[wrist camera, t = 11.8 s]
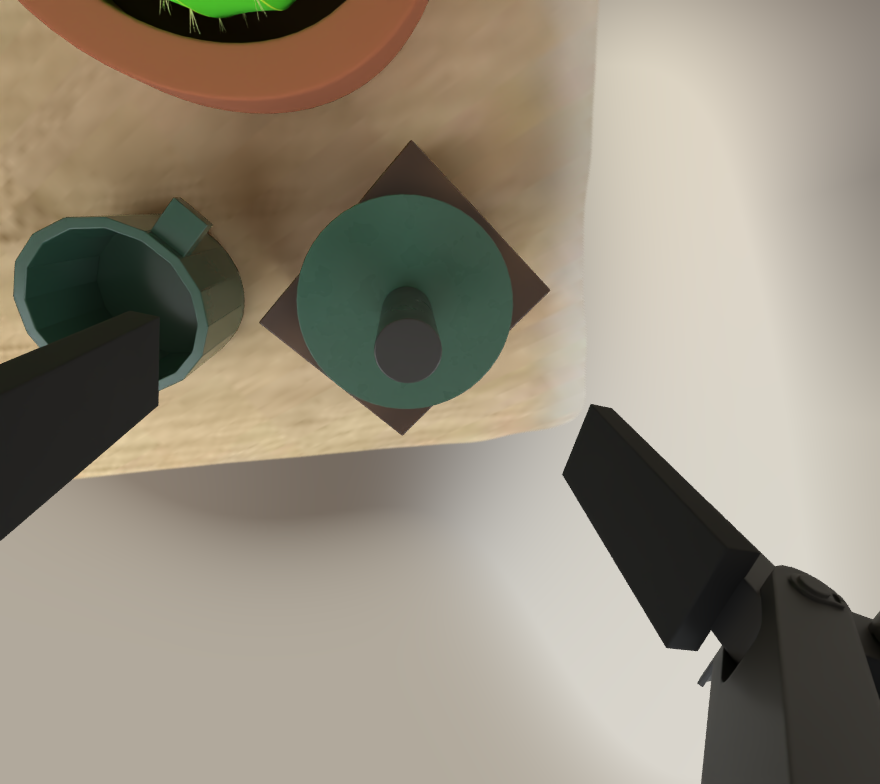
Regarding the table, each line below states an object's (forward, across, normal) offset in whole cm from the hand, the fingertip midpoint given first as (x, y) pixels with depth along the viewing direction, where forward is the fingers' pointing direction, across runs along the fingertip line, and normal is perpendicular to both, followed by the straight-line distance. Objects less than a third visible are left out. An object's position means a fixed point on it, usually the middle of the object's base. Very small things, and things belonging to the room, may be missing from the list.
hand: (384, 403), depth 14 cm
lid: (+15, +1, 0) cm, 15 cm away
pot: (+27, -18, -6) cm, 32 cm away
